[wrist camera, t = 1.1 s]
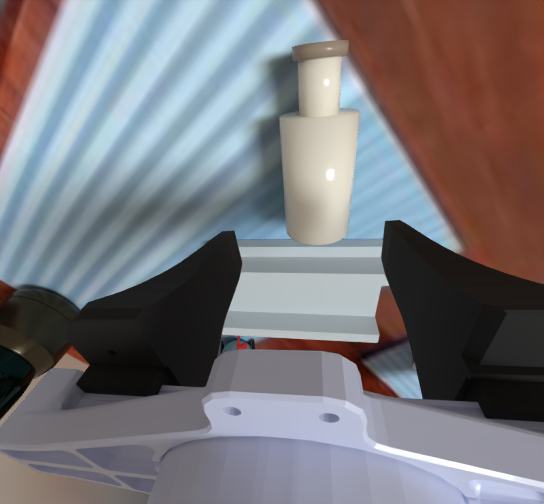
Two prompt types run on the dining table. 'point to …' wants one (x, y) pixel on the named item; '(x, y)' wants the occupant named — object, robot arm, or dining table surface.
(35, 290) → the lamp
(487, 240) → the dining table surface
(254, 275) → the cradle
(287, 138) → the bottle
